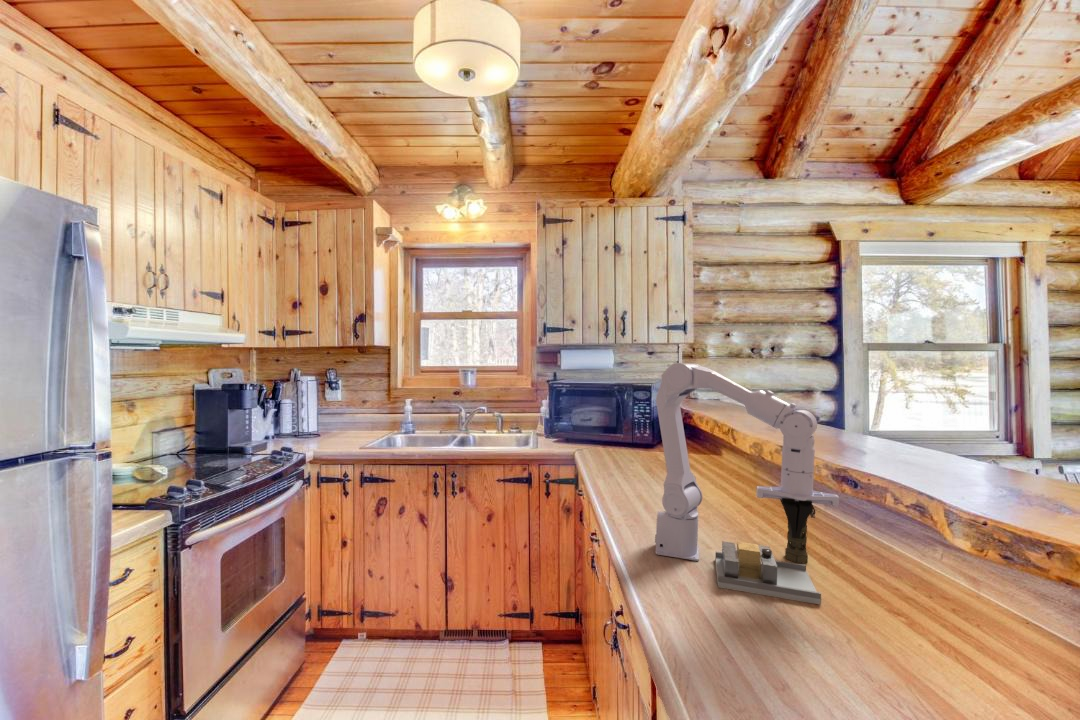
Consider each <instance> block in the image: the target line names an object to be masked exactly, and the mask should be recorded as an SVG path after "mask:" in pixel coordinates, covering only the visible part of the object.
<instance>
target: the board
mask: <svg viewBox="0 0 1080 720" xmlns="http://www.w3.org/2000/svg"><path fill="white" fill-rule="evenodd" d="M714 558H715V559H714V561H715V562H714V563H715V572H716V580H717V581H716V582H717V587H718V588H721V589H726V588H727V589H728V590H734V591H737V592H738V591H739V592H744V593H751V594H757V595H763V596H768V597H773V598H774V597H775V598H779V599H780V598H781V599H785V600H792V601H797V602H803V603H809V604H815V605H819V606H820V605H822V593H821V591H820V592H819V591H817V589H816V587H815V585H814V583H813V581H812V579H811V577H810V575H809V573H808V571H807V565H806V564H804V563H796V562H791V561H790V562H788V561H782V560H776V559H775V561H776V564H777V566H778V568H777V585H773V584H767V583H762V581H761V578H760V575H759V579H756V578H750V577H744V576H738V579H736V578H730V577H724V572H723V565H722V551H715V555H714Z"/></svg>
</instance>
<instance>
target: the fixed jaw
mask: <svg viewBox="0 0 1080 720" xmlns="http://www.w3.org/2000/svg"><path fill="white" fill-rule="evenodd" d="M721 552H722V565H723V572H724V577H730V578H736V579H738V576H739V557H738V553H737V545H736V544H735V542H730V541H722V544H721Z"/></svg>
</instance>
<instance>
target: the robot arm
mask: <svg viewBox="0 0 1080 720" xmlns="http://www.w3.org/2000/svg"><path fill="white" fill-rule="evenodd" d="M660 376H661V382H660V385H659V388H658V391H657V393H656V397H655V403H656V409H657V415H658V422H659V423H658V424H659V428H660V435H661V440H662V442H661V443H662V448H663V455H664V460H665V461H664V462H665V467H666V476H665V479H664V482H663V496H662V497H661V500H662V507H663V509H664V510H663V511H662V510H658V511H657V516H656V527H655V528H656V529H655V531H656V532H655V537H654V543H655V555H660V556H665V557H672V558H676V559H684V560H690V561H697V562H698V561H700V546H699V545H698V535H699V534H698V533H699V511H698V507H699V506H700V505H701V504H702V501H703V492H702V490H701V488H700V486H699V485H698V483H697V480H696V476H695V475H694V473H693V472H692V471H691V467H690V460H689V454H688V448H687V442H686V435H685V429H684V422H683V416H682V410H681V404H682V403H683V401H684V400H685V399H686V398H687V396H688V395H689V394H691V393H692V392H695V390H697V389H709V390H710V389H711V390H713V391H714V392H716V393H719V394H721V395H723V396H725V397H727V398H729V399H730V400H731V399H732V400H733V401H735V402H738V403H740V404H742V405H744V408H745V409H746V413H747V414H748V415H750V416H752V417H754V418H756V419H758V420H759V421H762V422H763V423H765V424H767V425H769V426H770V427H772V428H775V429H780V432H781V434H782V435H783V437H782V438H783V439H782V440H783V441H782V444H783V445H782V446H781V469H780V472H781V473H780V474H781V475H780V486H760V485H757V486H756V491H755V492H756V493H755V495H756V497H757V498H758V499H773V500H774V499H776V500H780V503H781V505H782V509H783V510H784V513H785V515H786V518H787V519H786V520H787V524H788V523H789V528H790V535H791V537H792V538H797V539H800V534H801V531H802V528H803V526H804V524H805V522H806V520H807V521H808V518H809V517H810V514H811V513H812V511H813V507H814V505H813V504H818V505H827V506H832V507H836V508H838V507H840V497H839V495H837V493H836V494H835V493H828V492H822V491H818V490H817V491H816V490H814V475H815V474H814V473H815V449H816V448H815V435H813V434H814V433H815V432H816V431H817V428H818V421H817V418H816V416H815V415H814V414H813V413H812V412H810V411H809V410H808V409H807V408H803V407H802V408H801V407H800V408H797V407H798V406H797V404H796V403H794V402H791V403H789V402H786V401H785V400H783V399H780V398H778V397H776V396H775V395H774V394H775V393H774V391H771V390H770V389H769V390H766V391H764V390H763V389H761V390H756V391H751V390H749V389H747V388H745V387H744V386H742V385H740V384H738V383H737V382H735V381H733V380H731V379H729V378H727V377H726V376H724V375H722V374H720V373H719V372H717V371H715V370H713V369H710V368H709V367H706V366H701V365H700V364H698V363H695V362H688V363H682V362H676V363H672V364H671V365H669V366H668V367H667V368H666V369H665V370H664V372H663V373H662V374H661V375H660ZM812 505H813V506H812ZM813 512H814V511H813Z"/></svg>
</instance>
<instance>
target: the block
mask: <svg viewBox="0 0 1080 720" xmlns="http://www.w3.org/2000/svg"><path fill="white" fill-rule="evenodd" d="M758 545H759V544H758V543H757V544H756V543H749V542H741V541H737V543H736V548H737V553H738V557H739V576H744V577H750V578H756V579H759V573H760V550H759V547H758Z"/></svg>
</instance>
